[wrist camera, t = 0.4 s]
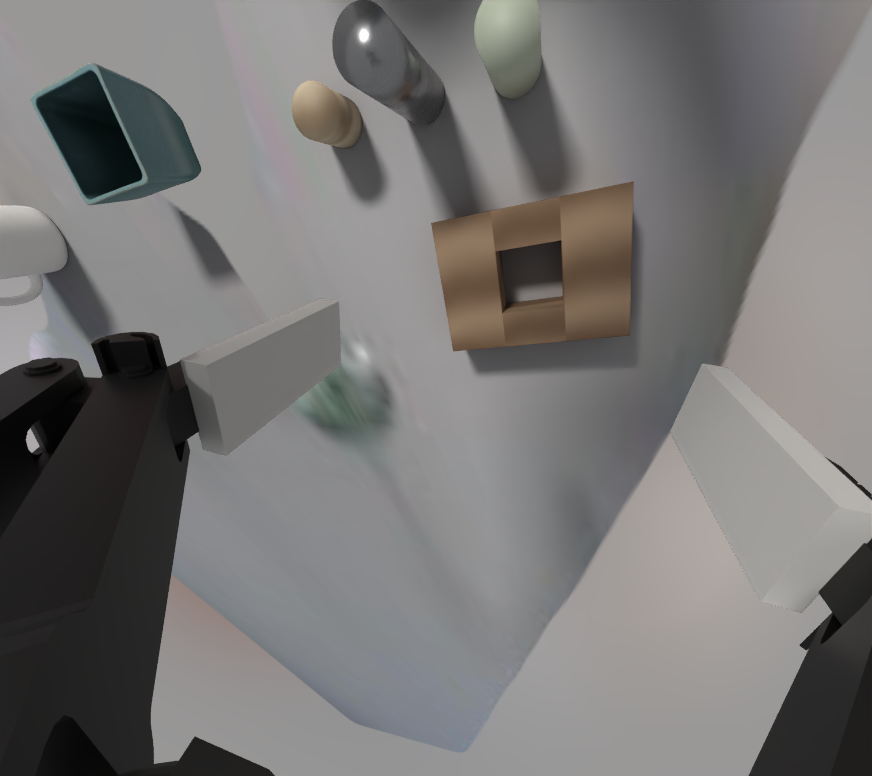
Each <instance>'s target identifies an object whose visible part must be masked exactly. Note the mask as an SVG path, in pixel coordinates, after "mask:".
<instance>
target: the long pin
mask: <svg viewBox="0 0 872 776" xmlns="http://www.w3.org/2000/svg"><path fill="white" fill-rule="evenodd" d="M333 55H334V59H335V63H336V65H337V68H338V70H339V72H340V73H341V75H342V76H343V78H344V79H345V80H346V81H347V82H348V83H350V84H351V85H353V86H354V87H356V88H357V89H359V90H361V91H362V92H364V93H365V94H367V95H369V96H370V97H372V98H374V99H375V100H377V101H378V102H380V103H382V104H383V105H385V106H386V107H388V108H390V109H391V110H393V111H395V112H396V113H398V114H399V115H401V116H403V117H404V118H406V119H407V120H409V121H411V122H412V123H414V124H416V125H427V124H430V123H432V122H433V121H434V120H435V119H436V118H437V117H438V116H439V114H440V113H441V111H442V108H443V105H444V99H445V92H444V87H443V83H442V81H441V79H440V78H439V76H438V75H437V74H436V73H435V71H434V70H433V69H432V68H431V67H430V65H429V64H428V63H427V62H426V61H425V59H424V58H423V57H422V56H421V55H420V53H419V52H418V51H417V50H416V49H415V47H414V46H413V45H412V44H411V43H410V41H409V40H408V39H407V38H406V37H405V35H404V34H403V33H402V32H401V31H400V29H399V28H398V27H397V26H396V25H395V23H394V22H393V21H392V20H391V19H390V17H389V16H388V15H387V14H386V13H385V11H384V10H383V9H382V8H381V7H380V6H378V5H377V4H376V3H374V2H371V1H368V0H358V1H355V2H353V3H351V4H350V5H348V6H347V7H346V8H345V9H344V10H343V11H342V13H341V14H340V16H339V18H338V20H337V22H336V25H335V28H334V33H333Z"/></svg>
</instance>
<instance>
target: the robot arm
mask: <svg viewBox="0 0 872 776" xmlns="http://www.w3.org/2000/svg"><path fill="white" fill-rule="evenodd" d="M91 345H92V348H93V350H94V353H95V356H96V358H97V361H98V364H99V367H100V369H101V372H102V375H103V376H102V377H101V378H89V377H84V376H83V373H82V371H81V368H80V365H79V363H78V361H76V360H73V359H67V358H53V359H52V358H42V359H36V360H32V361H30V362H28V363H25V364H22V365H19V366H17V367H14V368H12V369H10V370H8V371H6V372H4V373H3V374H1V375H0V776H275V775H273V773H272V772H271V771H270V770H269V769H267V768H264V767H262V766H260V765H258V764H256V763H253V762H251V761H249V760H246V759H244V758H242V757H240V756H237V755H235V754H233V753H231V752H228V751H226V750H224V749H222V748H220V747H217V746H215V745H213V744H210V743H208V742H206V741H204V740H202V739H199V738H197V737H194V739H193V740H192V741H191V743H190V745H189V746H188V748H187V749H186V751H185V752H184V754H183V755H182V757H181V758H180V760H179V761H172V762H165V763H158V764H154V747H153V738H152V730H151V703H152V696H153V690H154V683H155V677H156V670H157V664H158V657H159V651H160V644H161V638H162V631H163V624H164V617H165V611H166V605H167V598H168V592H169V585H170V578H171V572H172V565H173V559H174V552H175V546H176V539H177V532H178V526H179V519H180V513H181V506H182V500H183V493H184V486H185V480H186V473H187V467H188V460H189V454H190V449H189V445H188V441H187V439H188V438H190V437H191V436H193V435H194V434H196V433H197V432H198V433H199V437H200V440H201V444H202V448H203V450H206V451H210V452H214V453H217V454H221V455H225V456H227V455H228V454H229V453H231V452H232V451H233V450H234V449H236V448H237V447H238V446H239V445H241V444H242V443H243V442H244V441H246V440H247V439H248V438H249V437H251V436H252V435H253V434H254V433H256V432H257V431H258V430H259V429H261V428H262V427H263V426H264V425H266V424H267V423H268V422H269V421H271V420H272V419H273V418H274V417H276V416H277V415H278V414H279V413H281V412H282V411H283V410H284V409H286V408H287V407H288V406H289V405H291V404H292V403H293V402H294V401H296V400H297V399H298V398H299V397H301V396H302V395H303V394H304V393H306V392H307V391H308V390H309V389H311V388H312V387H313V386H315V385H316V384H317V383H318V382H320V381H321V380H322V379H323V378H325V377H326V376H327V375H328V374H330V373H331V372H332V371H333V370H335V369H336V368H337V367H338V366H340V365H341V349H340V318H339V301H335V300H329V299H323V298H321V299H318V300H316V301H314V302H311V303H309V304H307V305H305V306H302V307H300V308H298V309H296V310H293V311H291V312H288V313H286V314H284V315H282V316H279V317H277V318H275V319H272V320H270V321H268V322H265V323H263V324H261V325H258V326H256V327H254V328H252V329H249V330H247V331H245V332H242V333H240V334H238V335H235V336H233V337H231V338H229V339H226V340H224V341H222V342H219V343H217V344H215V345H212V346H210V347H208V348H206V349H203V350H201V351H199V352H196V353H194V354H192V355H189V356H187V357H185V358H182V359H180V361H179V362H177V363H175V364H173V365H170V366H168V367H167V365H166V362H165V358H164V355H163V351H162V347H161V344H160V340H159V336H157V335H155V334H153V333H146V332H129V333H119V334H114V335H110V336H106V337H103V338H100V339H97V340H96V341H94V342H93V343H91ZM30 428H31V430H32V432H33V434H34V436H35V438H36V440H37V442H38V443H39V446H40V447H39V448H38V449H36V450H35V451H34V452H33V453H31V452H30V451H29V450H28V447H27V443H26V436H27V432H28V430H29V429H30ZM670 433H671V435H672V437H673V439H674V441H675V443H676V445H677V447H678V448H679V450H680V452H681V454H682V456H683V458H684V460H685V462H686V463H687V465H688V467H689V469H690V471H691V473H692V475H693V476H694V478H695V480H696V482H697V484H698V486H699V488H700V490H701V492H702V493H703V495H704V497H705V499H706V501H707V503H708V505H709V507H710V509H711V510H712V512H713V514H714V516H715V518H716V520H717V521H718V523H719V525H720V527H721V529H722V531H723V533H724V535H725V537H726V539H727V540H728V542H729V544H730V546H731V548H732V550H733V552H734V554H735V556H736V557H737V559H738V561H739V563H740V565H741V567H742V569H743V570H744V572H745V574H746V576H747V578H748V580H749V582H750V583H751V586H752V587H753V589H754V591H755V593H756V595H757V597H758V598H759V601H760V602H763V603H767V604H771V605H775V606H778V607H782V608H786V609H789V610H793V611H796V612H800V613H802V612H803V611H804V610H805V609H806V608H807V607H808V606H809V605H810V603H811V602H812V601H813V600H814V599H815V598H816V597H817V596H818V595H819V594H820V595H821V597H822V598H823V599H824V601H825V602H826V604H827V605H828V607H829V608H830V609H831V611H832V613H831V614H830V615H829V616H828V617H827V618H826V619H825V620H824V621H823V622H822V623H821V625H819V626H818V628H816V629H815V630H814V631H813V632H812V633H811V634H810V635H809V636H808V637H807V638H806V639H805V640H804V641H803V642H802V643H801V644H800V646H801V647H802V648H804V649H805V650H807V649H809V650H808V652H807V654H806V656H805V658H804V660H803V662H802V664H801V667H800V669H799V671H798V673H797V675H796V677H795V679H794V681H793V684H792V686H791V688H790V690H789V692H788V694H787V696H786V698H785V700H784V702H783V704H782V707H781V709H780V711H779V713H778V715H777V717H776V719H775V721H774V723H773V725H772V728H771V730H770V732H769V734H768V736H767V738H766V740H765V742H764V744H763V747H762V749H761V751H760V753H759V755H758V757H757V759H756V761H755V764H754V766H753V768H752V770H751V772H750V774H749V776H872V497H871V495H872V494H871V493H870V492H868V491H867V490H866V489H865V488H864V487H863V486H862V485H859V484H857V483H858V482H857V481H856V480H855V479H854V478H853V477H852V476H850V474H848V473H847V472H846V471H845V470H844V469H843V468H842V467H841V466H839V465H837V464H836V463H834V462H832V461H831V460H829V459H827V458H826V457H824V456H823V455H822V454H821V453H820V452H819V451H818V450H816V449H815V448H814V447H813V446H812V445H811V444H810V443H809V442H808V441H807V440H805V438H803V437H802V436H801V435H800V434H799V433H798V432H797V431H796V430H795V429H794V428H793V427H792V426H790V425H789V424H788V423H787V422H786V421H785V420H784V419H783V418H782V417H781V416H780V415H779V414H777V413H776V412H775V411H774V410H773V409H772V408H771V407H770V406H768V405H767V403H765V402H764V401H763V400H762V399H761V398H760V397H759V396H758V395H757V394H756V393H755V392H754V391H752V390H751V389H750V388H749V387H748V386H747V385H746V384H745V383H744V382H743V381H742V380H741V379H739V378H738V377H737V376H736V375H735V374H734V373H733V372H732V371H731V370H730V369H729V368H726V367H720V366H714V365H709V364H703V363H702V365H701V367H700V369H699V371H698V373H697V375H696V378H695V380H694V382H693V384H692V386H691V388H690V390H689V392H688V394H687V397H686V399H685V401H684V403H683V405H682V407H681V409H680V411H679V413H678V416H677V418H676V420H675V422H674V424H673V426H672V428H671V430H670Z"/></svg>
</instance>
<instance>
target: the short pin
mask: <svg viewBox="0 0 872 776" xmlns="http://www.w3.org/2000/svg"><path fill="white" fill-rule="evenodd" d="M292 115H293V119H294V122H295V124H296V126H297V128H298V130H299V131H300V132H301V133H302V134H303V135H304V136H305V137H307V138H308V139H311V140H314V141H318V142H321V143H325V144H328V145H332V146H336V147H339V148H349V147H351V146H353V145H354V144H355V143H356V142H357V141H358V139H359V137H360V135H361V131H362V117H361V114H360V111H359V109H358V107H357V106H356V104H355V103H354V102H353V101H352V100H350V99H349V98H347V97H345V96H343V95H341V94H339V93H337V92H336V91H334V90H332V89H330V88H328V87H326V86H325V85H323V84H321V83H319V82H316V81H306V82H304V83H302V84H301V85H300V86H299V87H298V88H297V89H296V91H295V93H294V96H293V100H292Z"/></svg>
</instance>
